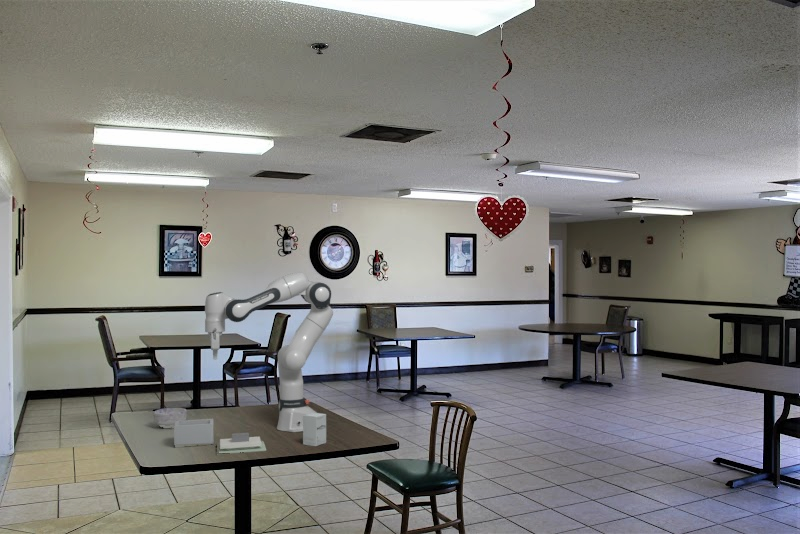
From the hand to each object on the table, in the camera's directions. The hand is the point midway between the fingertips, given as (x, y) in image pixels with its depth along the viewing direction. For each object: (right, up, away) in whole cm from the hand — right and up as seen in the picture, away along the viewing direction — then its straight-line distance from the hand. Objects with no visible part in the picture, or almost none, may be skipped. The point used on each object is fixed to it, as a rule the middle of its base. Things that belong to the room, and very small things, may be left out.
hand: (215, 358), depth 314 cm
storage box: (-5, -35, -14) cm, 38 cm away
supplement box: (+47, -35, -18) cm, 61 cm away
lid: (+17, -34, -24) cm, 45 cm away
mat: (+17, -35, -24) cm, 45 cm away
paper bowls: (-27, -36, +20) cm, 49 cm away
